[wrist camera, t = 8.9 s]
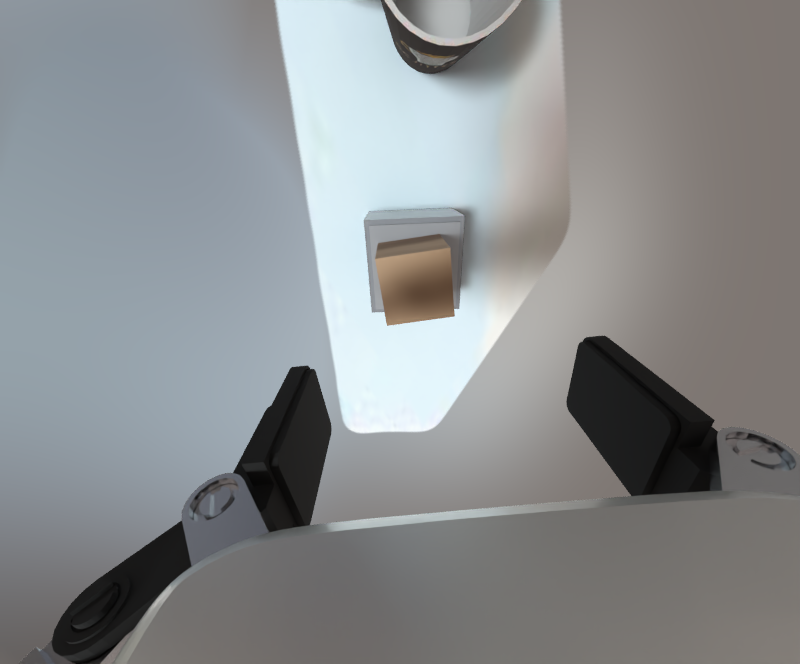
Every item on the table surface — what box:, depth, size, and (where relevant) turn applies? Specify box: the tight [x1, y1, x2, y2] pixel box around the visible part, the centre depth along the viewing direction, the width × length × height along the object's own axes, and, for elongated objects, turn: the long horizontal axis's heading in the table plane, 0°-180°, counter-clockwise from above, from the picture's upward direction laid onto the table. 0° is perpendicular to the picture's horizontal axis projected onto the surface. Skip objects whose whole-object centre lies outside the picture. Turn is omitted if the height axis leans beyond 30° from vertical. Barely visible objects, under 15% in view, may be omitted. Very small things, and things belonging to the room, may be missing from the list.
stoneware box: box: [364, 208, 465, 312], centre depth 28 cm, size 8×8×6 cm
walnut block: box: [375, 234, 454, 326], centre depth 23 cm, size 5×5×5 cm
